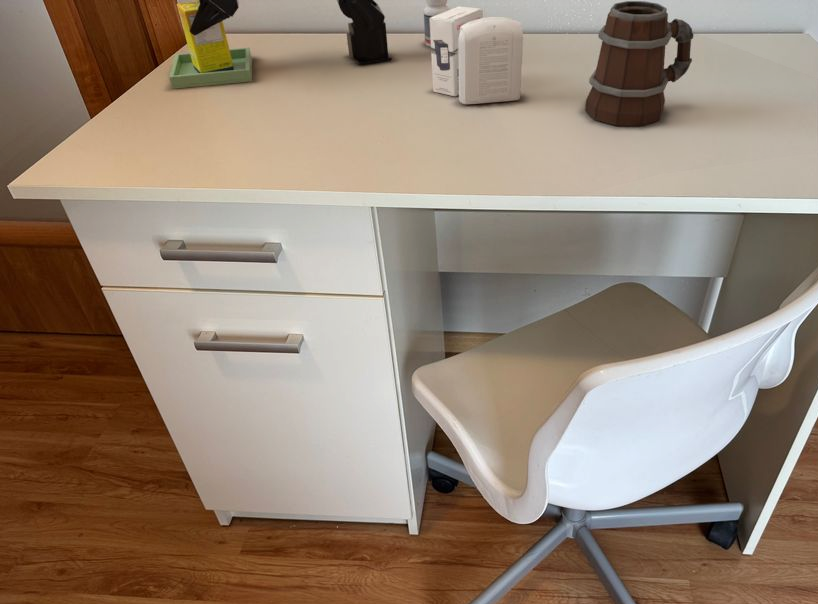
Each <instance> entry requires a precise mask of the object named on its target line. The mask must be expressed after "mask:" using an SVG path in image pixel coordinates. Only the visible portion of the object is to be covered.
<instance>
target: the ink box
mask: <svg viewBox="0 0 818 604" xmlns="http://www.w3.org/2000/svg"><path fill="white" fill-rule="evenodd" d="M481 18H484V10H483V9H481V8H478V7H469V6H461V5H460V6H459V5H458V6H456V7H454V8H450V10H448V11H446V12H443V13H441V14H438V15H436V16H433V17H431V18H430V39H431V47H430V57H431V73H432V74H431V77H432V92H434V93H437V94H441V95H442V94H443V95H446V96H451V97H458V96H459V47H458V39H459V33H460V27H461V26H462V25H464V24H466V23H468V22H471V21H474V20H477V19H481Z"/></svg>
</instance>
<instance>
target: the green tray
mask: <svg viewBox="0 0 818 604" xmlns="http://www.w3.org/2000/svg"><path fill="white" fill-rule="evenodd" d="M229 50H230V54H231V58H232V62H233V67H234V70H229V71H218V72H208V73H198V72H197V71H196V70H195V69H194V66H193V62H192V58H191V55H190V52H183V53H182V52H181V53H175V55H174V58H173V62H172V67H171V69H170V73H169V76H168V77H169V82H170V86H171V88H172V90H175V89H176V90H177V89H186V88H195V87H196V88H197V87H198V88H199V87H207V86H219V85H228V84H238V83H249V82H253V58H252V53H251V48H250V47H239V48H229Z"/></svg>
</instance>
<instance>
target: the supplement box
mask: <svg viewBox="0 0 818 604" xmlns="http://www.w3.org/2000/svg"><path fill="white" fill-rule="evenodd" d="M199 5H200V1H199V0H195V1H189V2H187V1H186V2H182V3H176V8H177V11H178V15H179V18H180V22H181V26H182V29H183V33H184V37H185V41H186V44H187V48H188V51H189V53H190V55H191V58H192V62H193V66H194V69H195V70H196V71H197V72H198V73H208V72H218V71H229V70H234V67H233V62H232V58H231V54H230V50H229V49H230V47H229V42H228V37H227V34H226V30H225V25H224V20H223V21H221V22H219V23H217V24H215V25H214V26H212V27H210V28H208V29H206V30H205V31H203V32H201V33H199V34H197V35H193V34H192V33H190V28H191V25H192V23H193V20H194V17H195V15H196V12H197V10H198V7H199Z"/></svg>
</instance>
